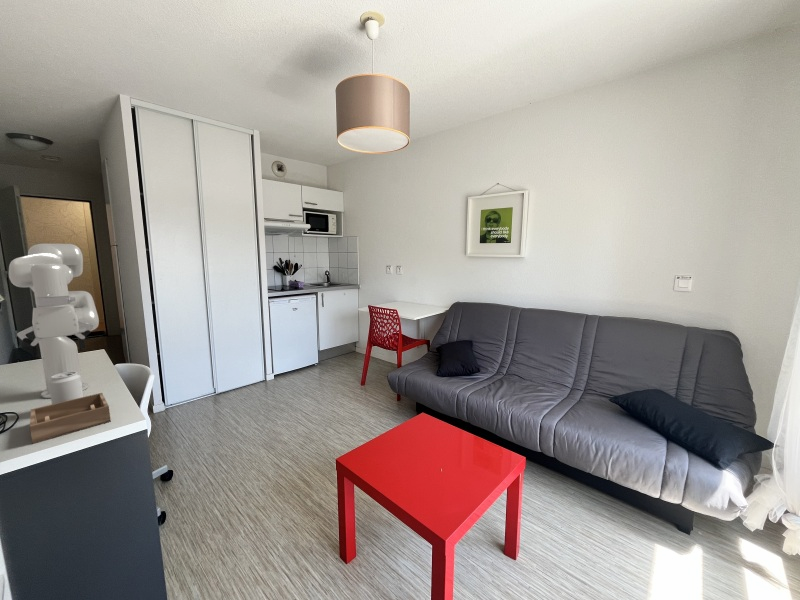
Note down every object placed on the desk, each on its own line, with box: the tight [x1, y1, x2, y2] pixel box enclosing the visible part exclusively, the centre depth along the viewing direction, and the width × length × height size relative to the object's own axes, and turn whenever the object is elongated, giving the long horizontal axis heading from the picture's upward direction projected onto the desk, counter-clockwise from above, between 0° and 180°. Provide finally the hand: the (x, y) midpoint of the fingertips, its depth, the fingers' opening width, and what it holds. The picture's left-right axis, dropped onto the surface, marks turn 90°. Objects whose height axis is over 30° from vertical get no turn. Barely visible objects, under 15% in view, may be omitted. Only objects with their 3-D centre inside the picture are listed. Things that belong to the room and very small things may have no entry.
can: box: [48, 372, 84, 404], centre depth 109 cm, size 8×8×12 cm
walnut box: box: [29, 392, 112, 445], centre depth 99 cm, size 16×16×5 cm
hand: (61, 353), depth 108 cm, fingers open, 9 cm apart
